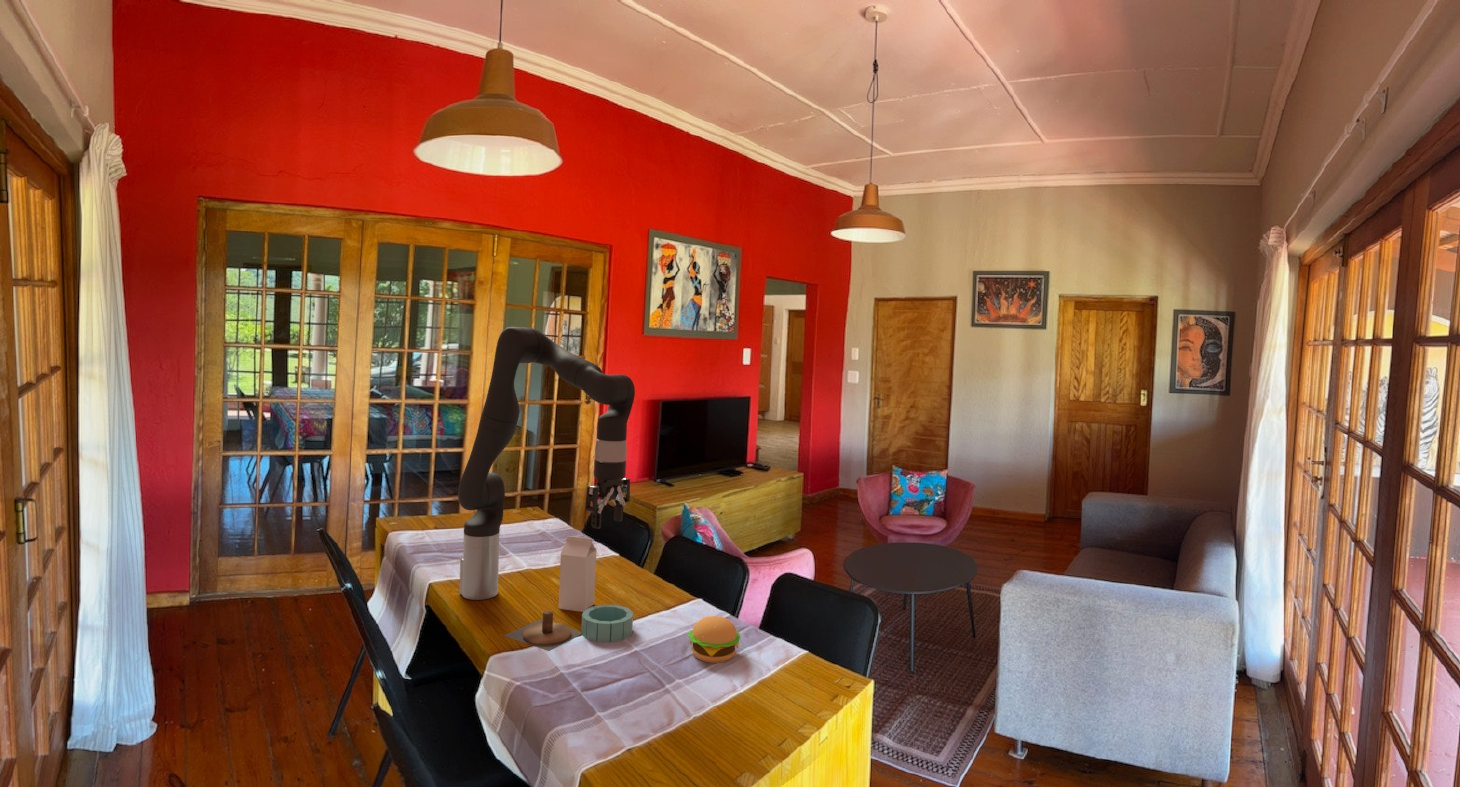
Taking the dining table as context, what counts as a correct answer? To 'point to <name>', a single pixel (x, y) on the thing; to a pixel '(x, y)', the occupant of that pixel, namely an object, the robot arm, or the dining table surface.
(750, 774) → the dining table surface
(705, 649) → the hamburger
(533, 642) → the lid
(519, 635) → the mat
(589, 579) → the milk carton
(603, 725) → the dining table surface
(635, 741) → the dining table surface
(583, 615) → the bowl
